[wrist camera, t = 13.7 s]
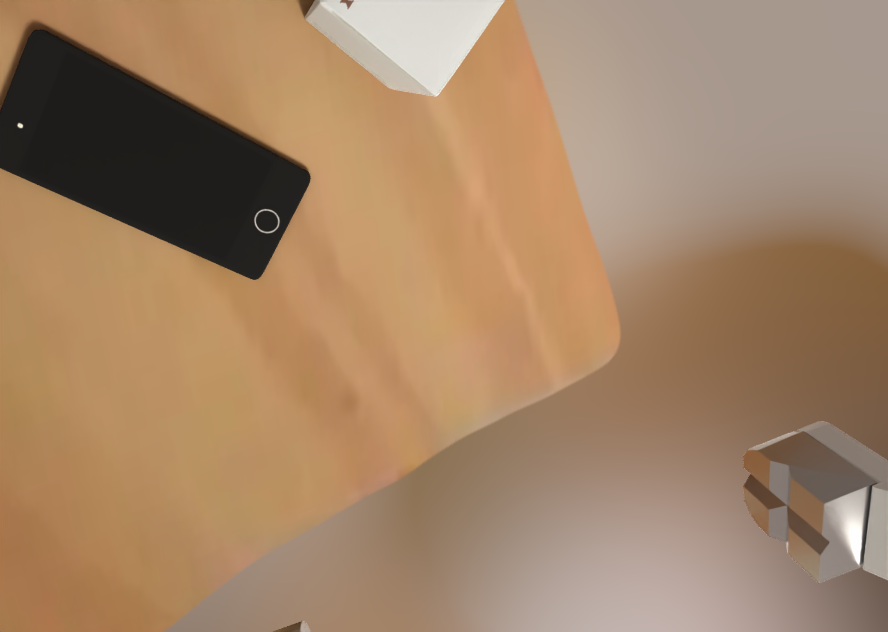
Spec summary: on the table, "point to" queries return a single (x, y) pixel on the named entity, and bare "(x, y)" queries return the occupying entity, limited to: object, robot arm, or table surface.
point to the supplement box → (405, 37)
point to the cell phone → (144, 158)
